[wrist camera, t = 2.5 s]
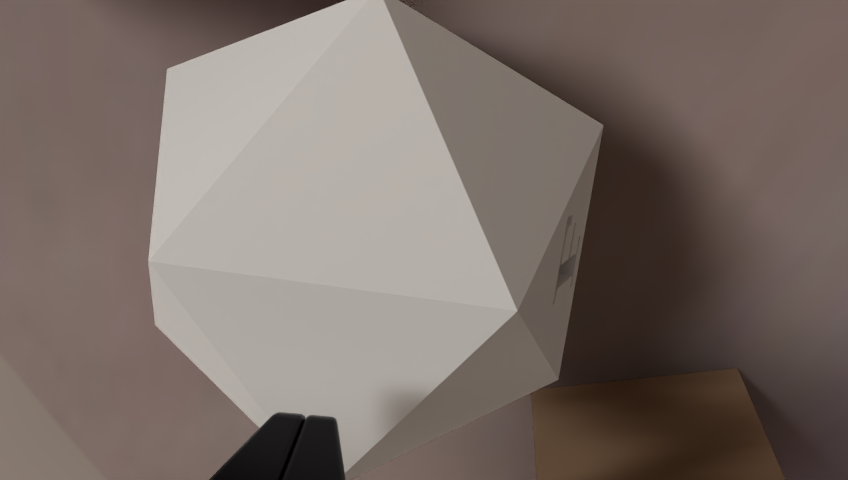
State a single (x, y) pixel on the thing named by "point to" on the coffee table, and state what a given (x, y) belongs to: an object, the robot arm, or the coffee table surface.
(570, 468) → the walnut block
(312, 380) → the die
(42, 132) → the coffee table surface
